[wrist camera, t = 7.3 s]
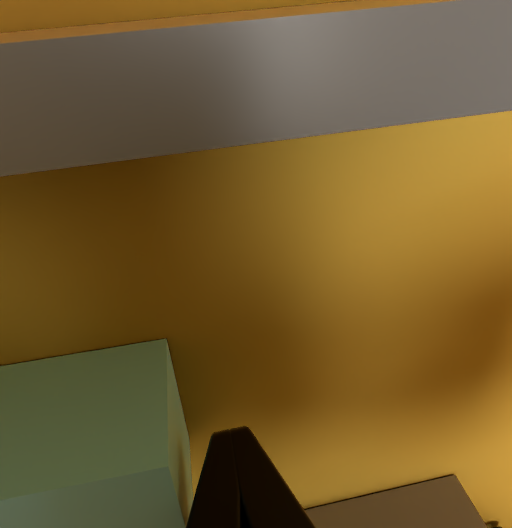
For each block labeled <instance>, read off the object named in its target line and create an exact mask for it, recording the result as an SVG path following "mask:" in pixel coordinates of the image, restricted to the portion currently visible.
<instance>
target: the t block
mask: <svg viewBox="0 0 512 528" xmlns="http://www.w3.org/2000/svg"><path fill="white" fill-rule="evenodd" d="M192 503H193V489H192V473H191V457H190V441H189V435H188V431H187V426H186V422H185V418H184V413H183V409H182V404H181V400H180V396H179V391H178V387H177V382H176V378H175V374H174V369H173V365H172V360H171V356H170V352H169V347H168V343H167V339H161V340H155V341H149V342H143V343H137V344H131V345H125V346H119V347H113V348H107V349H101V350H95V351H89V352H83V353H77V354H71V355H65V356H59V357H53V358H47V359H41V360H35V361H29V362H23V363H17V364H11V365H5V366H0V528H186V525H187V521H188V518H189V514H190V511H191V507H192Z"/></svg>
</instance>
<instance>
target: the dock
mask: <svg viewBox="0 0 512 528" xmlns="http://www.w3.org/2000/svg"><path fill="white" fill-rule="evenodd" d="M511 110H512V0H353V1H342V2H331V3H320V4H310V5H299V6H288V7H277V8H266V9H255V10H244V11H233V12H222V13H212V14H201V15H190V16H179V17H168V18H157V19H146V20H135V21H124V22H114V23H103V24H92V25H81V26H70V27H59V28H48V29H37V30H26V31H16V32H5V33H0V177H1V176H9V175H16V174H24V173H32V172H40V171H47V170H55V169H63V168H71V167H78V166H86V165H94V164H101V163H109V162H117V161H125V160H132V159H140V158H148V157H156V156H163V155H171V154H179V153H187V152H194V151H202V150H210V149H217V148H225V147H233V146H241V145H248V144H256V143H264V142H272V141H279V140H287V139H295V138H302V137H310V136H318V135H326V134H333V133H341V132H349V131H357V130H364V129H372V128H380V127H388V126H395V125H403V124H411V123H418V122H426V121H434V120H442V119H449V118H457V117H465V116H473V115H480V114H488V113H496V112H504V111H511ZM304 511H305V512H306V514H307V515H308V517H309V518H310V520H311V521H312V523H313V524H314V526H315V527H316V528H487V526H486V524H485V523H484V521H483V520H482V518H481V516H480V515H479V513H478V511H477V510H476V508H475V507H474V505H473V503H472V502H471V500H470V498H469V497H468V495H467V494H466V492H465V490H464V489H463V487H462V485H461V484H460V482H459V481H458V479H457V477H456V476H455V475H452V476H448V477H443V478H439V479H435V480H431V481H426V482H422V483H418V484H414V485H409V486H405V487H401V488H397V489H392V490H388V491H384V492H380V493H375V494H371V495H367V496H363V497H358V498H354V499H350V500H346V501H341V502H337V503H333V504H329V505H324V506H320V507H316V508H312V509H307V510H304Z"/></svg>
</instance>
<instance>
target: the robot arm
mask: <svg viewBox="0 0 512 528" xmlns="http://www.w3.org/2000/svg"><path fill="white" fill-rule="evenodd" d="M186 528H316V527H315V526H314V524H313V523H312V521H311V520H310V518H309V517H308V515H307V514H306V512H305V511H304V509H303V508H302V506H301V505H300V503H299V502H298V500H297V499H296V497H295V496H294V494H293V493H292V491H291V490H290V488H289V487H288V485H287V484H286V482H285V481H284V479H283V478H282V476H281V475H280V473H279V472H278V470H277V469H276V467H275V466H274V464H273V463H272V461H271V460H270V458H269V457H268V455H267V454H266V452H265V451H264V449H263V448H262V446H261V445H260V443H259V442H258V440H257V439H256V437H255V436H254V434H253V433H252V431H251V430H250V429H249V428H248V427H247V426H243V427H238V428H233V429H227V430H222V431H217V432H214V433H213V434H212V436H211V439H210V442H209V446H208V449H207V453H206V457H205V460H204V464H203V467H202V471H201V475H200V478H199V482H198V485H197V489H196V493H195V496H194V500H193V503H192V507H191V511H190V514H189V518H188V521H187V525H186ZM494 528H502V527H494Z"/></svg>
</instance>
